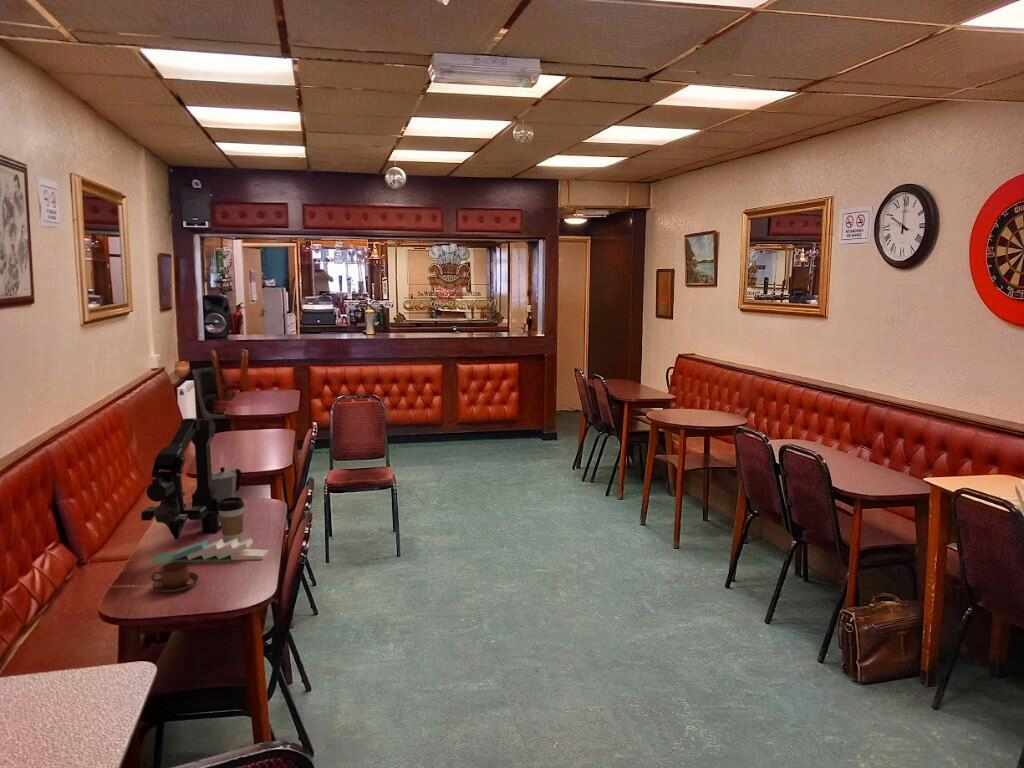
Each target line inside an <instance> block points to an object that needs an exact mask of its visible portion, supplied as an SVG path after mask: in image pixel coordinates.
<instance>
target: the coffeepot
mask: <svg viewBox="0 0 1024 768" xmlns="http://www.w3.org/2000/svg"><path fill="white" fill-rule="evenodd" d="M225 470H226V467H219V471H220V472H216V473H213V474H212V485H213V487H214V488H215V489H216V490H217V492H218V497H219V499H220V500H222V499H225V498H230V497H236V495H235V492H238V491H239V490H240V486H241V482H242V476H243V472H242V471H241V469H240V468H235V469H231V470H230V471H225ZM218 517H219V515H218Z"/></svg>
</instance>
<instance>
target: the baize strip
mask: <svg viewBox="0 0 1024 768" xmlns="http://www.w3.org/2000/svg"><path fill="white" fill-rule="evenodd" d="M176 552H177V551H173V552H172V551H171V552H166V551H164V552H159V553H158V554H157V555H156V556H154V557H153V558H151V560H149V561H148V564H149V563H173V562H186V563H218V562H219V563H222V562H223V563H226V562H227V563H228V562H229V563H230V562H231V561H232V560H231V555H229V556H226V557H224V558H221V559H219V560H218V558H217V556H216V555H215V556H213V557H210V558H207V559H205V560H204V559H203V557H202V555H201V556H198V557H195V558H193V559H190V560H188V558H187V556H184V557H181V558H179V559H176V560H174V558H173V556H172V555H174V554H175V553H176Z"/></svg>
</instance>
